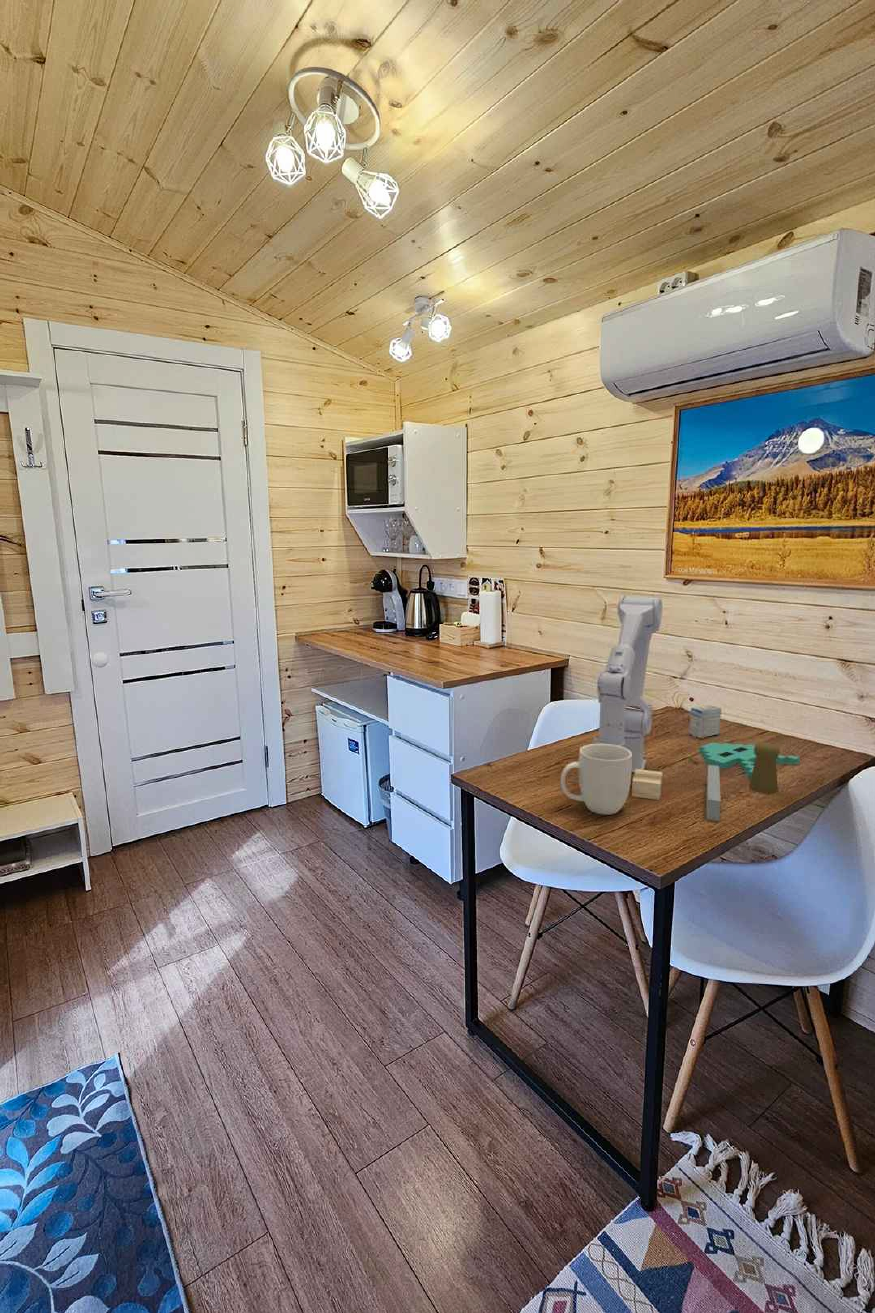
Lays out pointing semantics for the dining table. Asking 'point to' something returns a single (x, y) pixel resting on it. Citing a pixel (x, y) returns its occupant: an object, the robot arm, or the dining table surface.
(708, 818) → the board
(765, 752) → the cork
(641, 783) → the maple block
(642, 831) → the dining table surface
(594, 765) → the mug
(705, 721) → the medicine box
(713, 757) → the alien figure
